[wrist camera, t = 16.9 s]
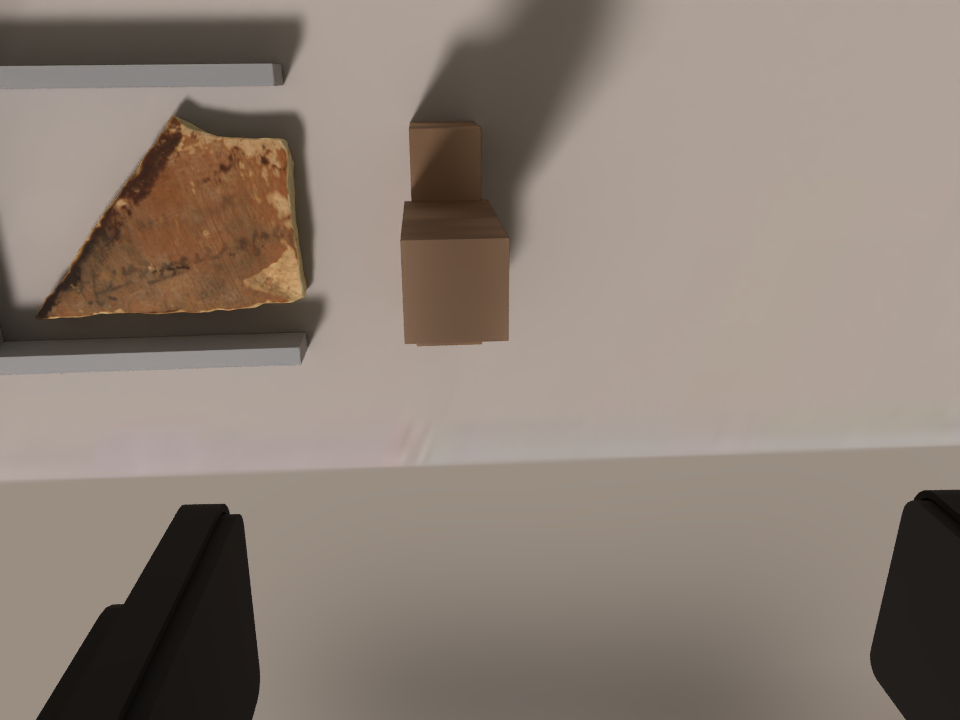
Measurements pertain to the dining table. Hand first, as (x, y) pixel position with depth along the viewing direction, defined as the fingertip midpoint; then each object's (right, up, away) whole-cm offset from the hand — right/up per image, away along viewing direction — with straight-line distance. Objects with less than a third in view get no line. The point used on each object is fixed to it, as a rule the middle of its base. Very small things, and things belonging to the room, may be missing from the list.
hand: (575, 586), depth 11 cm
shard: (-13, +8, +22) cm, 26 cm away
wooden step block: (-3, +9, +21) cm, 23 cm away
